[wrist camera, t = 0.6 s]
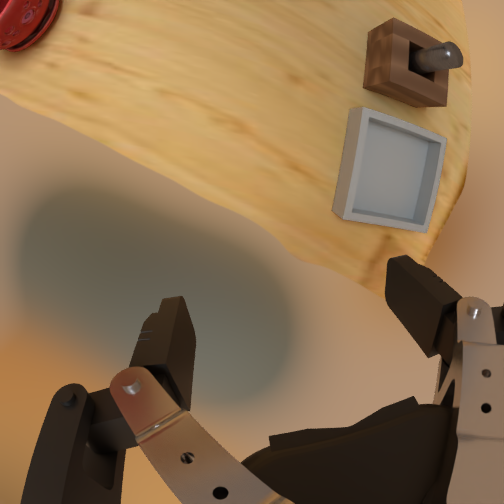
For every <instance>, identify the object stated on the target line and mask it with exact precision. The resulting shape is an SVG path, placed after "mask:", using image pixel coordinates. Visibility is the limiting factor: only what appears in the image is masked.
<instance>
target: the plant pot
mask: <svg viewBox="0 0 504 504" xmlns="http://www.w3.org/2000/svg"><path fill="white" fill-rule="evenodd" d="M58 5H59V0H0V50H2V49H6V50H8V51H11V52H16V51H20V50H23V49H25V48H27V47H28V46H30V45H31V44H33V43H34V42H35V41H36V40H37V39H38V38H39V37H40V36H41V35H42V34H43V33H44V32H45V31H46V30H47V28H48V27H49V26H50V24H51V22H52V21H53V19H54V17H55V15H56V12H57V9H58Z"/></svg>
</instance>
